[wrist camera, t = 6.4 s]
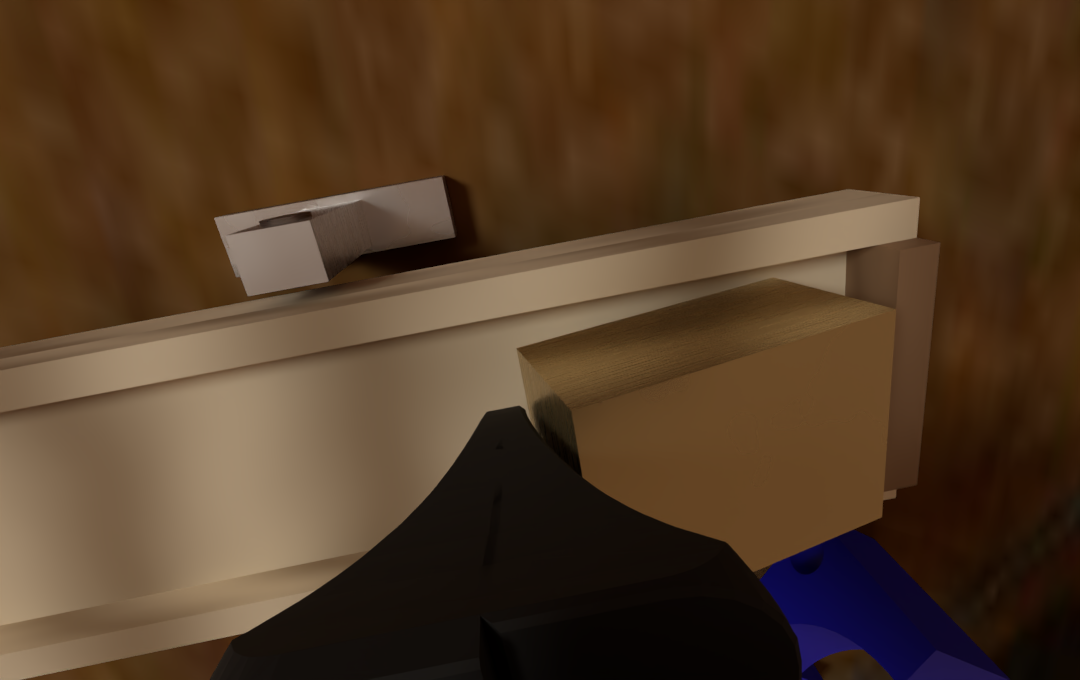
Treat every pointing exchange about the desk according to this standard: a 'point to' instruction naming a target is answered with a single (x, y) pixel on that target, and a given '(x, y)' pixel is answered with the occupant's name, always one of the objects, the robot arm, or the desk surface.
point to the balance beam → (351, 415)
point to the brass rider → (728, 413)
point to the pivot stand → (332, 232)
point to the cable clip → (871, 613)
